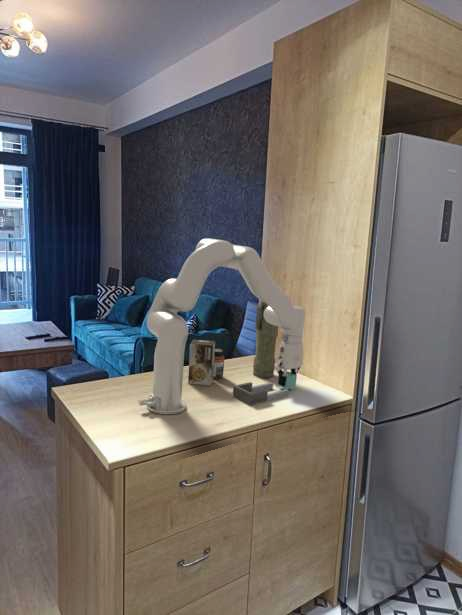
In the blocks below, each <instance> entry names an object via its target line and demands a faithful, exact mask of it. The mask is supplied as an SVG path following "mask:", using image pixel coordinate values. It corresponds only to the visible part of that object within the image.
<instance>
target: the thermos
mask: <svg viewBox="0 0 462 615" xmlns="http://www.w3.org/2000/svg"><path fill="white" fill-rule="evenodd" d="M267 307H268V305H267V304H266V303H265V302H263V301H262V300H260V303H258V306H257V308H256V317H255V318H256V320H255V330H256V332H255V333H256V335H257V336H256V346H255V356H254V357H253V362H252V363H253V365H252V368H253V371H252V376H255V377H257V378H260V379H271V378H273V377H274V375H275V374H274V371H275V369H274V367H275V366H276V357H275V356H276V346H277V345H276V344H277V337H278V335H279V328H280V327H277V326H274V325H272V324H269V323H268V322H267V321H266V320H265V319H264V311H265V309H266V308H267Z"/></svg>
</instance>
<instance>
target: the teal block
mask: <svg viewBox="0 0 462 615" xmlns="http://www.w3.org/2000/svg"><path fill="white" fill-rule="evenodd" d="M290 372H291V371H289V370H287V371H286V374H285V376H286V382H285V386H281V385H279V384H278V380H279V374H278V373H277V382H276V386H278V387H280V388H282V389H283V390H285V389H287V390H290V389H295V388H296V386H297V385H296V384H297V376H298V374H297V375H295V374H293V373H290Z"/></svg>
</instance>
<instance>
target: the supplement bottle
mask: <svg viewBox="0 0 462 615" xmlns="http://www.w3.org/2000/svg"><path fill="white" fill-rule="evenodd" d="M224 369H225V355H223V349H222V348H221V349H220V348H215V355H214V370H213V380H221V379H222V378H224Z"/></svg>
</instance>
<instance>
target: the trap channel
mask: <svg viewBox="0 0 462 615" xmlns="http://www.w3.org/2000/svg"><path fill="white" fill-rule="evenodd" d="M232 388H233V389H232V397H233V398H235V399H237V400H239V401H241V402H242V403H245V404H247V405H248V406H253V405H256V403H257V404H260V402H261V403H265V402H268V401H272V400H275V399H279V398H283V397H287V396H289V389H282V390H278V391H273V392H269V391H268V390H270V389H271V390H272V389H273V388H274V383H273V382H266V383H263V384H258V385H253V382H251V381H249V382H246V383H240V384H237V385H233V386H232Z"/></svg>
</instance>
